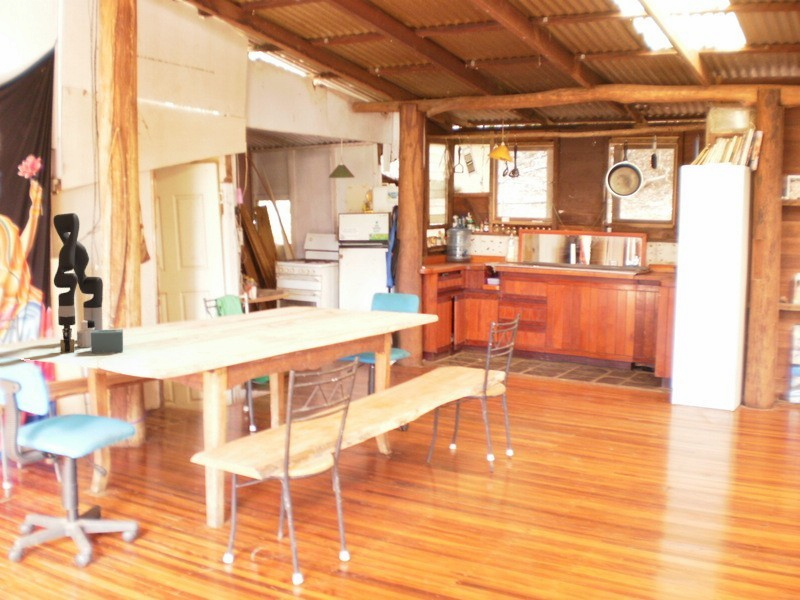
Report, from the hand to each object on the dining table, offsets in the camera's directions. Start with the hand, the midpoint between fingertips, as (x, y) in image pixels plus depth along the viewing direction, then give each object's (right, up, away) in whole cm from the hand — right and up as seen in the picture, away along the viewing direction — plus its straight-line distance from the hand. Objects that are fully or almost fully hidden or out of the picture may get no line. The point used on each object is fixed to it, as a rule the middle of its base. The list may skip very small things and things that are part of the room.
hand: (67, 350), depth 392 cm
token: (0, -1, 0) cm, 1 cm away
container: (+2, +1, +20) cm, 20 cm away
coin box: (+18, 0, +4) cm, 18 cm away
